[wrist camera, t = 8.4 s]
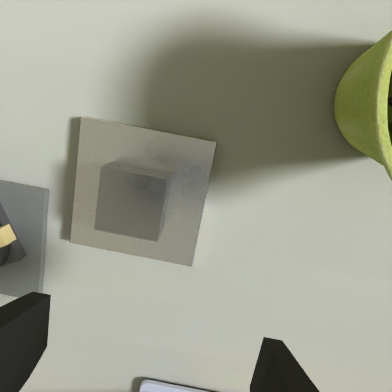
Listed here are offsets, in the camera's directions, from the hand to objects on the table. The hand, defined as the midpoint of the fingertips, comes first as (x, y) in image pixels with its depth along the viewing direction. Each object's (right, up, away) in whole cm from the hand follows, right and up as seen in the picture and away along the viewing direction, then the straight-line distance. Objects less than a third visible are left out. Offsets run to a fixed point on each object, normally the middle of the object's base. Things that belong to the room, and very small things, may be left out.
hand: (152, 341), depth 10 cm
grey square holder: (-2, +5, +10) cm, 11 cm away
